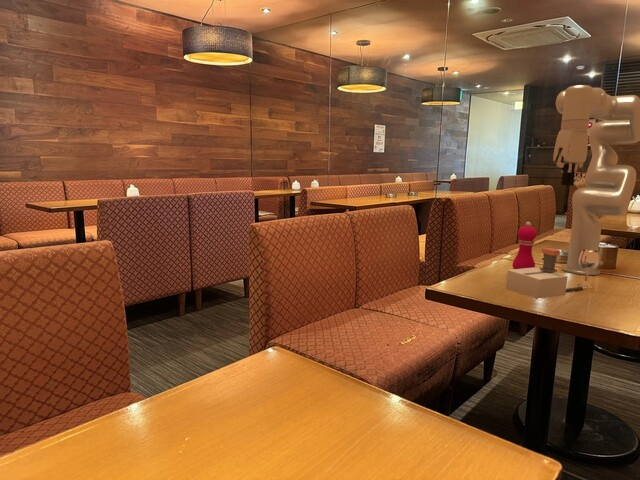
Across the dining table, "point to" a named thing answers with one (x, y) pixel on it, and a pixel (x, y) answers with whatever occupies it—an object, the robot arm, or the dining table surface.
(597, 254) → the wineglass
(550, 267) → the breaker handle
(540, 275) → the box
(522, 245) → the pepper mill
